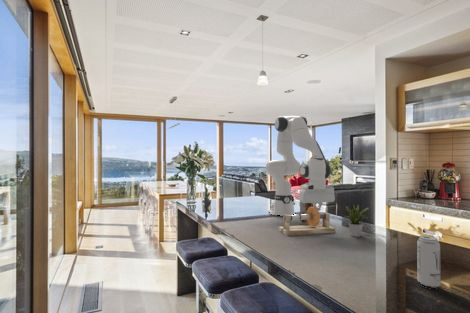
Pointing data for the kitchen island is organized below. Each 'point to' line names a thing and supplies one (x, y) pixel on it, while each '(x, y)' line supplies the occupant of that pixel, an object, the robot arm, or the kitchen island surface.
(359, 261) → the kitchen island surface
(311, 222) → the orange faceted ring
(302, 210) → the coffee box
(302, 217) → the steel pipe
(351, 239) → the kitchen island surface
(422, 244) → the energy drink can
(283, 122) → the robot arm
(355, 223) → the house plant
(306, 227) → the pipe stand
